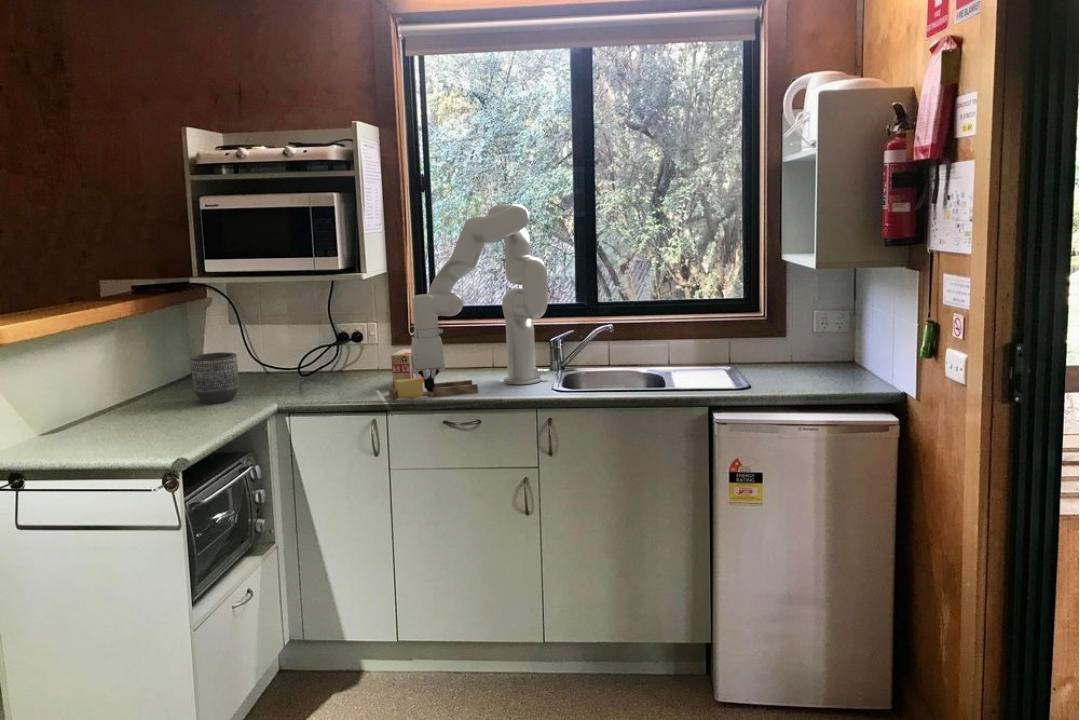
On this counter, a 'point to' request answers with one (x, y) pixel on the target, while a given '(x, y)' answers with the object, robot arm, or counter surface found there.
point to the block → (409, 388)
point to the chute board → (443, 389)
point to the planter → (215, 377)
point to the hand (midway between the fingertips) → (429, 390)
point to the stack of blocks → (403, 366)
